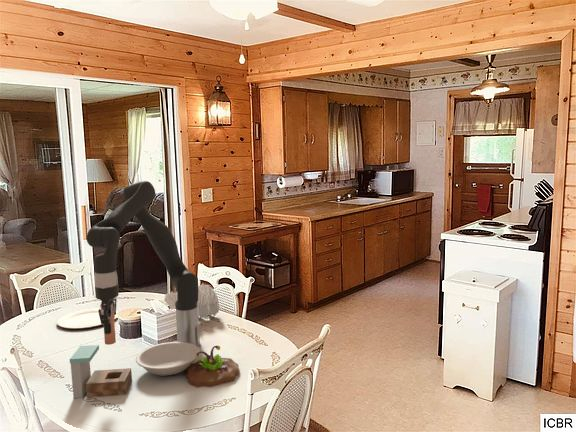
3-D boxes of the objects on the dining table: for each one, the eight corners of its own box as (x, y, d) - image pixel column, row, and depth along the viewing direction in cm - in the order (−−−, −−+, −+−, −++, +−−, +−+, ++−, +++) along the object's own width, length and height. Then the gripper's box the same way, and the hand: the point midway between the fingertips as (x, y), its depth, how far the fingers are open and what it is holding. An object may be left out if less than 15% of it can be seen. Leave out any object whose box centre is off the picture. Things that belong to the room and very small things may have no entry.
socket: (132, 380, 174) (131, 368, 173) (125, 394, 164) (124, 381, 164) (95, 383, 173) (94, 370, 172) (87, 397, 163) (86, 383, 162)
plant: (243, 382, 172) (242, 353, 170) (188, 391, 166) (187, 361, 165) (234, 360, 191) (233, 333, 189) (185, 367, 186) (183, 339, 184)
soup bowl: (131, 365, 187) (129, 349, 186) (189, 352, 198) (189, 337, 198) (144, 391, 166) (143, 374, 165) (209, 374, 178) (208, 358, 177)
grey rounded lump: (219, 323, 242) (178, 335, 224) (200, 302, 252) (159, 312, 234) (229, 295, 235) (187, 305, 217) (209, 275, 245) (168, 282, 227)
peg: (106, 340, 168) (104, 308, 167) (116, 340, 168) (114, 307, 167) (103, 344, 165) (101, 311, 163) (114, 344, 165) (111, 311, 163)
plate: (98, 307, 260) (98, 304, 259) (131, 317, 243) (130, 314, 242) (45, 324, 236) (45, 320, 236) (77, 336, 219) (77, 332, 219)
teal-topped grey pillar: (101, 382, 173) (98, 344, 172) (92, 397, 163) (89, 357, 161) (83, 383, 173) (80, 346, 171) (73, 399, 162) (69, 359, 160)
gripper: (101, 279, 170) (104, 324, 173) (88, 290, 156) (92, 339, 159) (122, 278, 171) (125, 323, 173) (111, 289, 157) (114, 338, 159)
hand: (109, 331), depth 166 cm, fingers closed on peg, 3 cm apart
